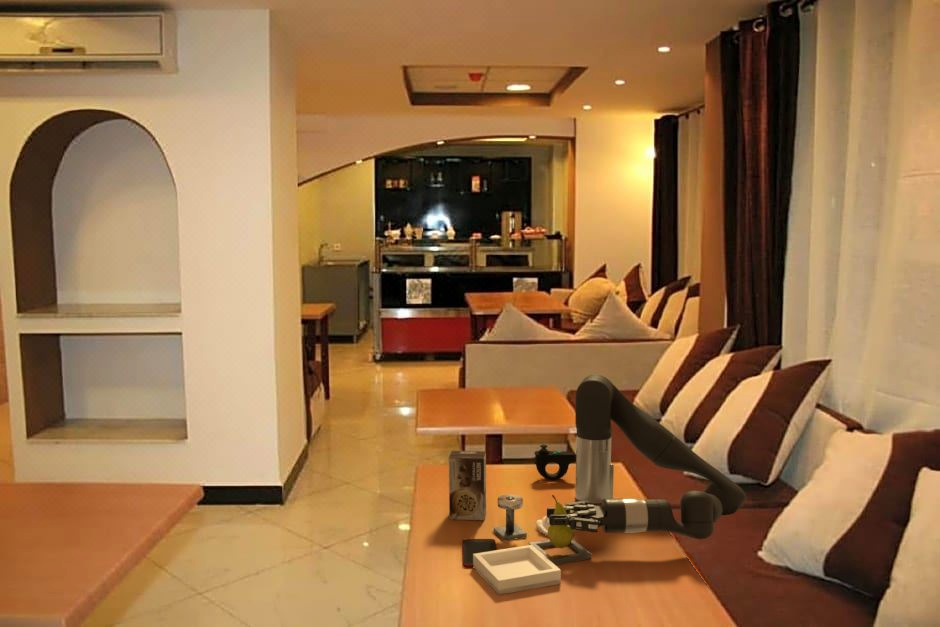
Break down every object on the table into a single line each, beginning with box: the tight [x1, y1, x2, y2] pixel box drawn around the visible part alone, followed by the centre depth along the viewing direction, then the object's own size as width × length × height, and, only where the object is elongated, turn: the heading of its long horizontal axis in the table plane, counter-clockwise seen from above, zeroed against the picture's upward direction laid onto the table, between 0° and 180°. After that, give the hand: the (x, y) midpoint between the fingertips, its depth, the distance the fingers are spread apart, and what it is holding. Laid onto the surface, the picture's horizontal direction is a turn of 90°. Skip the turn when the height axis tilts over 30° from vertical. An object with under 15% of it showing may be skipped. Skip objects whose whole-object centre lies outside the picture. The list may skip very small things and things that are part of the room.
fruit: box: [547, 494, 575, 549], centre depth 187 cm, size 6×6×12 cm
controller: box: [533, 444, 576, 481], centre depth 239 cm, size 4×12×10 cm, turn 90°
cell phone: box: [461, 538, 498, 569], centre depth 187 cm, size 8×15×1 cm, turn 1°
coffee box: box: [448, 450, 487, 521], centre depth 210 cm, size 9×6×16 cm
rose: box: [535, 515, 576, 537], centre depth 201 cm, size 10×4×10 cm
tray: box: [473, 544, 562, 596], centre depth 176 cm, size 14×14×3 cm
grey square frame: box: [528, 539, 592, 566], centre depth 188 cm, size 10×10×1 cm
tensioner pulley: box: [493, 494, 528, 541], centre depth 198 cm, size 6×6×9 cm
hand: (548, 516), depth 186 cm, fingers closed on fruit, 3 cm apart
